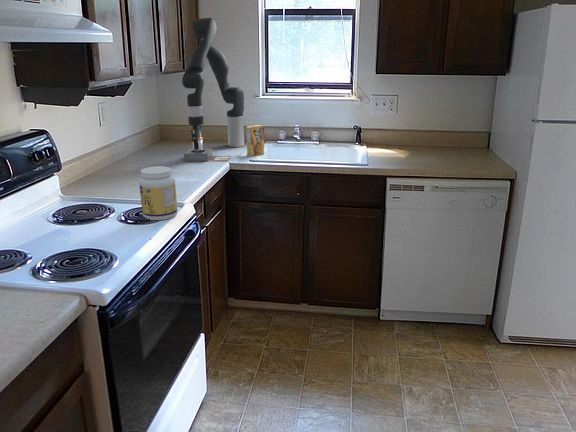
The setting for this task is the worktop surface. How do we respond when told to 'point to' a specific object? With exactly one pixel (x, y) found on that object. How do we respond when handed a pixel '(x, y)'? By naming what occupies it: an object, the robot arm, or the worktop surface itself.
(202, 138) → the clear glass
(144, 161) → the worktop surface
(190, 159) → the housing
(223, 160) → the board
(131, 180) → the worktop surface
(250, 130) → the candy box
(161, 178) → the supplement tub
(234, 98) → the robot arm
